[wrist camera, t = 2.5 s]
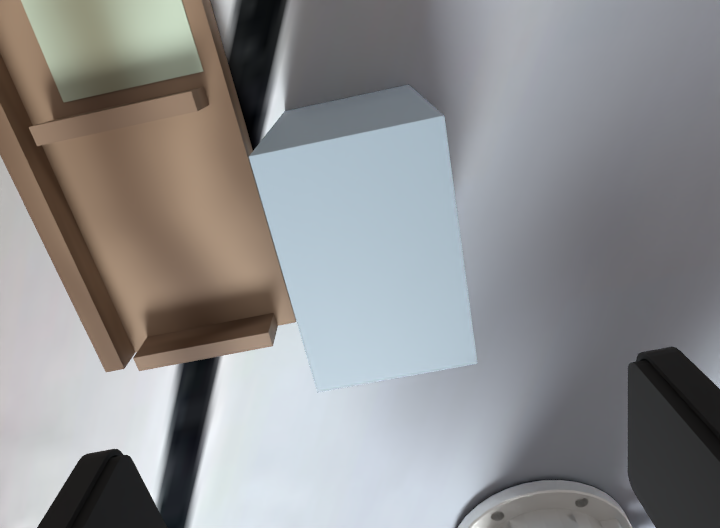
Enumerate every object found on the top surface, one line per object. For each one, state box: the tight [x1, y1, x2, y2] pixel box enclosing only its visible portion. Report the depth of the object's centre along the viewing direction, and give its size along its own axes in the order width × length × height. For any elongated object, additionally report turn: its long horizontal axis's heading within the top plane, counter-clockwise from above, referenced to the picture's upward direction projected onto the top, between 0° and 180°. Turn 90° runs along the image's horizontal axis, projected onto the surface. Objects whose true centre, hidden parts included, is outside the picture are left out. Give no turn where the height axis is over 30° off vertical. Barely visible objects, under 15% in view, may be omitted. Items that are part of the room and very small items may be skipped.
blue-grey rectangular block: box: [249, 85, 478, 393], centre depth 22 cm, size 6×9×10 cm
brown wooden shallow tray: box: [0, 0, 296, 372], centre depth 23 cm, size 10×24×4 cm, turn 11°
